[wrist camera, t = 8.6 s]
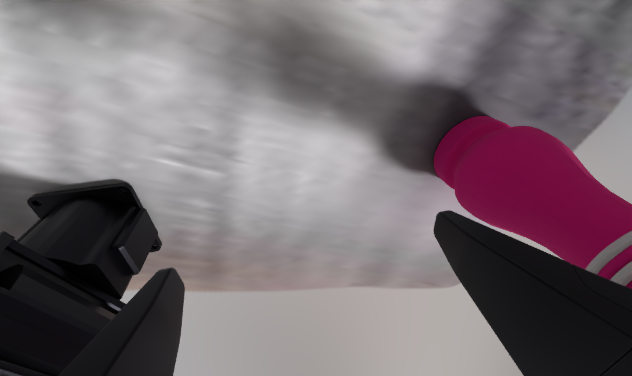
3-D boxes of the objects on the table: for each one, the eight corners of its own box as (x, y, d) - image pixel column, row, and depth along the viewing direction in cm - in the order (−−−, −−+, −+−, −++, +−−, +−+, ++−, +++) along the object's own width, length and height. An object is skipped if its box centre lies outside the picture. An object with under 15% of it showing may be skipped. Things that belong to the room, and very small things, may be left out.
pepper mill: (420, 133, 21) (1014, 559, 4) (507, 93, 20) (1548, 409, 4) (433, 197, 25) (769, 545, 9) (505, 165, 24) (1016, 471, 8)
